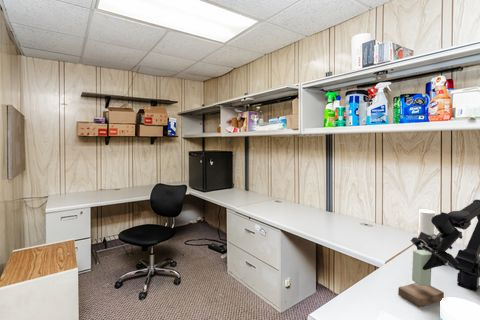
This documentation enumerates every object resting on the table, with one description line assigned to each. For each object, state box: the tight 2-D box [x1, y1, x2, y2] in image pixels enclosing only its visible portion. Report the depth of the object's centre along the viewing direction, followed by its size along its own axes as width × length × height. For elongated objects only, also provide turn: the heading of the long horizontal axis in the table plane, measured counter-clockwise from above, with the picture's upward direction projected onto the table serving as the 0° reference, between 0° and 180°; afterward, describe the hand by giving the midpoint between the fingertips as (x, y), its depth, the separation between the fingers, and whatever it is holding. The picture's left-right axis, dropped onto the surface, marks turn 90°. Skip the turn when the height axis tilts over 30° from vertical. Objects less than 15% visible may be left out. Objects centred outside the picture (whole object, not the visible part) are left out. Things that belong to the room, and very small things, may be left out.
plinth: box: [397, 282, 445, 308], centre depth 108 cm, size 14×9×3 cm, turn 110°
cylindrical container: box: [417, 209, 436, 254], centre depth 146 cm, size 7×7×25 cm
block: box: [411, 249, 432, 286], centre depth 107 cm, size 4×4×13 cm
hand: (418, 266), depth 107 cm, fingers closed on block, 4 cm apart
